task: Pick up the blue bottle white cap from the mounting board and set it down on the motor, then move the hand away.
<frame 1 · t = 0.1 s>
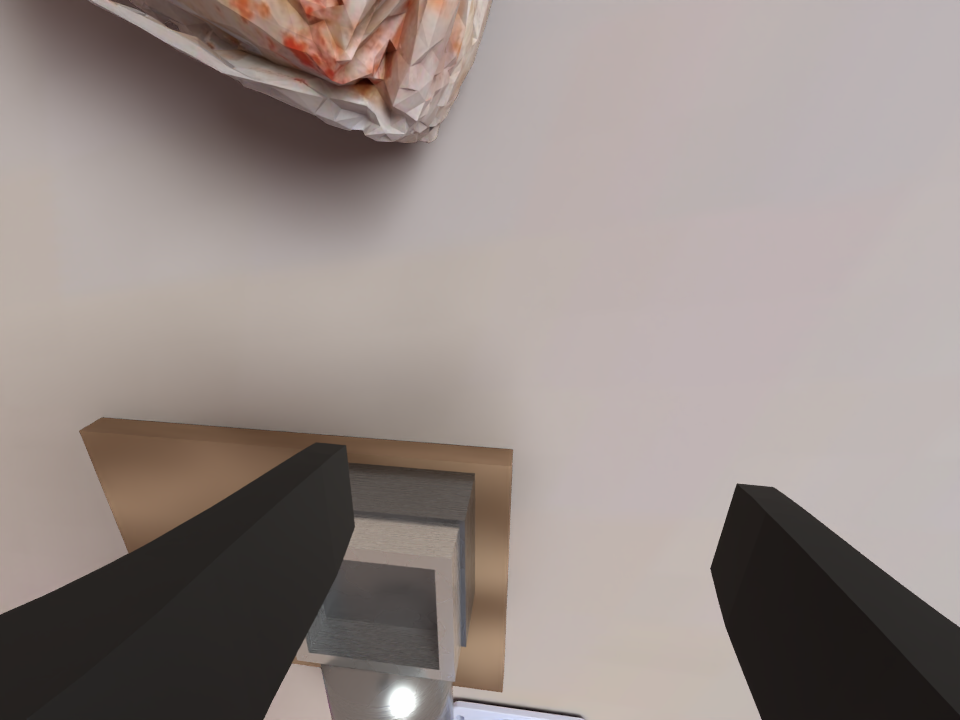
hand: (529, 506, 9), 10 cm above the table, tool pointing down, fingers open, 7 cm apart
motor: (399, 528, 21), resting on mounting board
mounting board: (318, 553, 25), on the table
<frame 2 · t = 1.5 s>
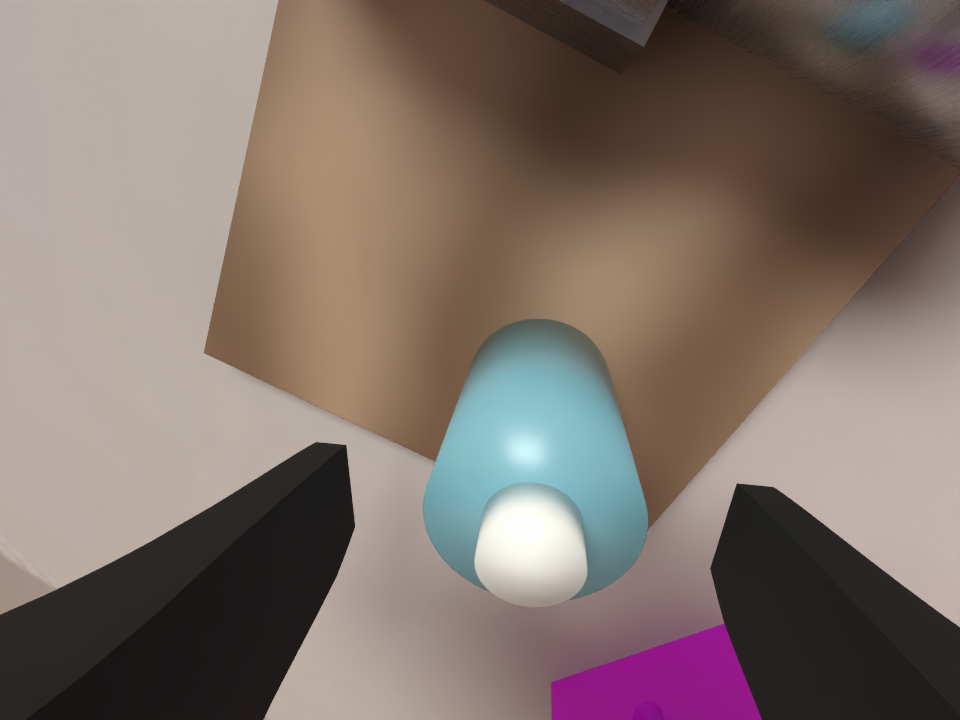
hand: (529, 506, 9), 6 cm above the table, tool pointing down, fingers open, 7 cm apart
mounting board: (580, 144, 12), on the table
blue bottle white cap: (537, 384, 13), point 1 cm above the table, touching mounting board
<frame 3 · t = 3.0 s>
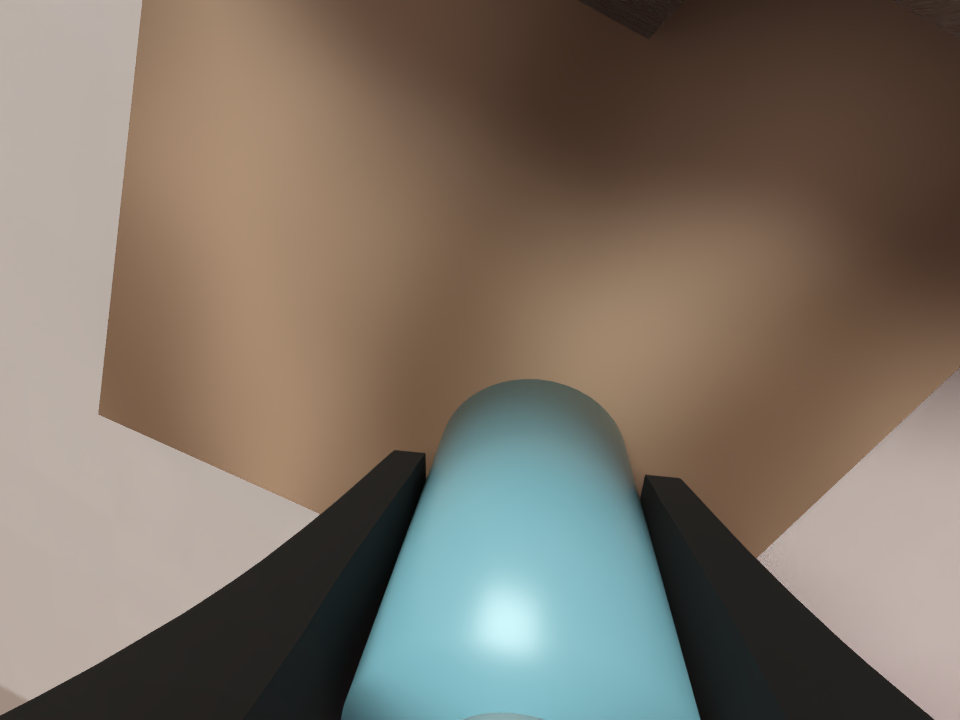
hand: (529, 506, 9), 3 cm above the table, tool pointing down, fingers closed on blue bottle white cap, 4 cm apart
mounting board: (588, 143, 9), on the table
blue bottle white cap: (530, 461, 10), point 1 cm above the table, touching gripper, mounting board
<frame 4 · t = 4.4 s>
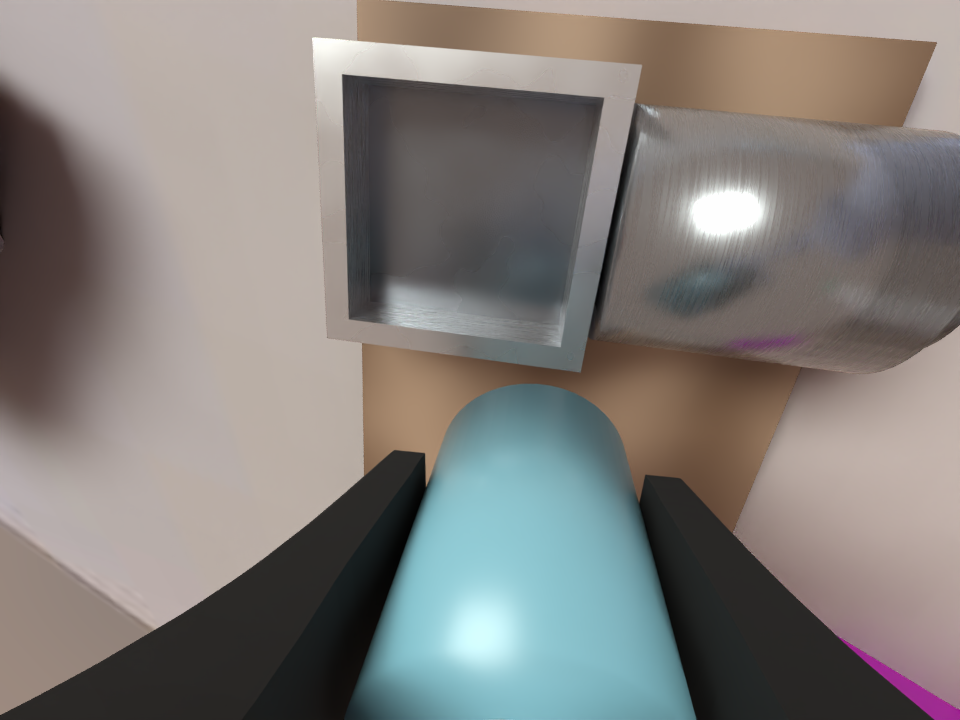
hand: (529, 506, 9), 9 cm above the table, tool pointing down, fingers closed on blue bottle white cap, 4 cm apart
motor: (483, 203, 15), resting on mounting board
mounting board: (567, 350, 17), on the table
blue bottle white cap: (531, 465, 10), point 8 cm above the table, touching gripper
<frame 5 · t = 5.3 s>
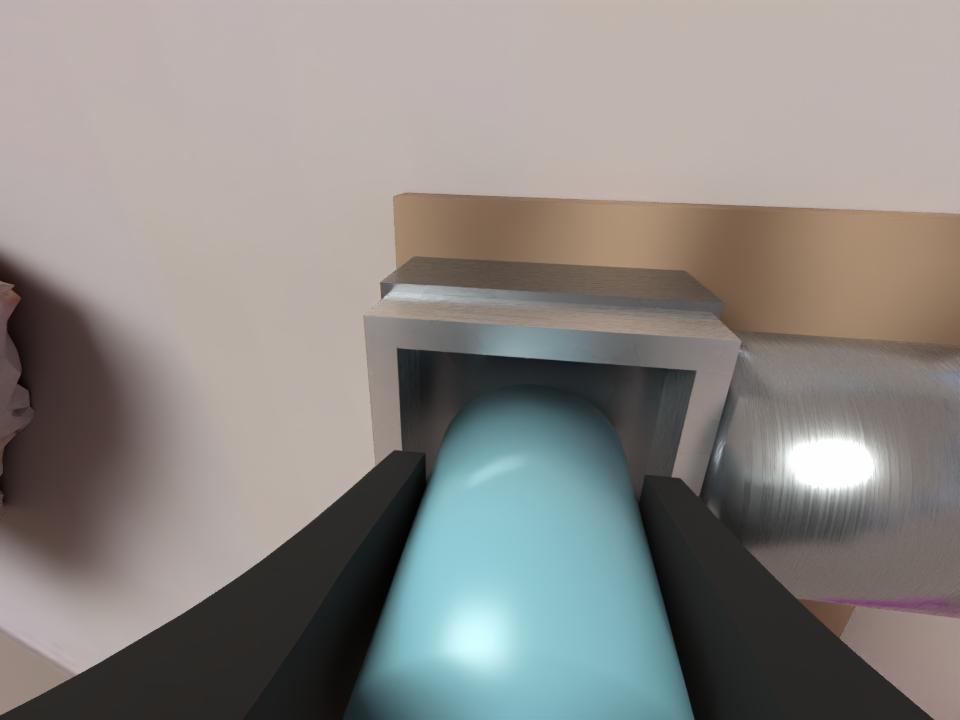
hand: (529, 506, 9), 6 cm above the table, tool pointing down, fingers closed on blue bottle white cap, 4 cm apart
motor: (535, 383, 14), resting on mounting board
mounting board: (625, 503, 16), on the table
blue bottle white cap: (530, 466, 10), point 5 cm above the table, touching gripper
when the fingers open (6 cm above the table, at t = 6.1 s): blue bottle white cap stays where it is, resting on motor.
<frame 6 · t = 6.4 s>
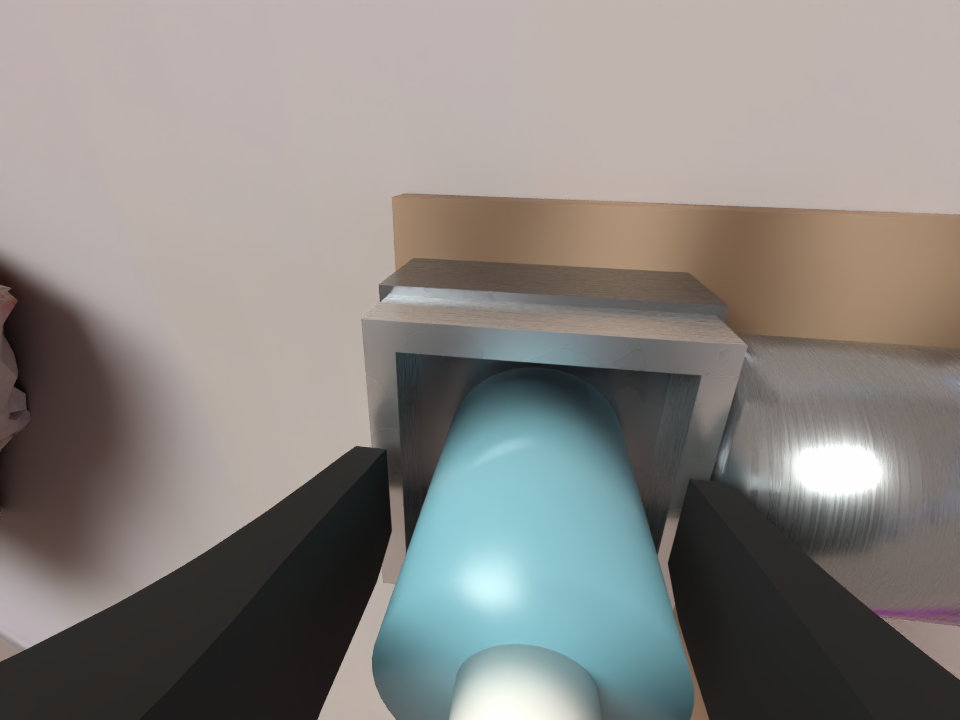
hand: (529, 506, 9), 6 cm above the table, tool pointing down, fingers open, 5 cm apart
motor: (536, 386, 13), resting on mounting board
mounting board: (627, 507, 16), on the table
blue bottle white cap: (534, 445, 11), point 4 cm above the table, touching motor
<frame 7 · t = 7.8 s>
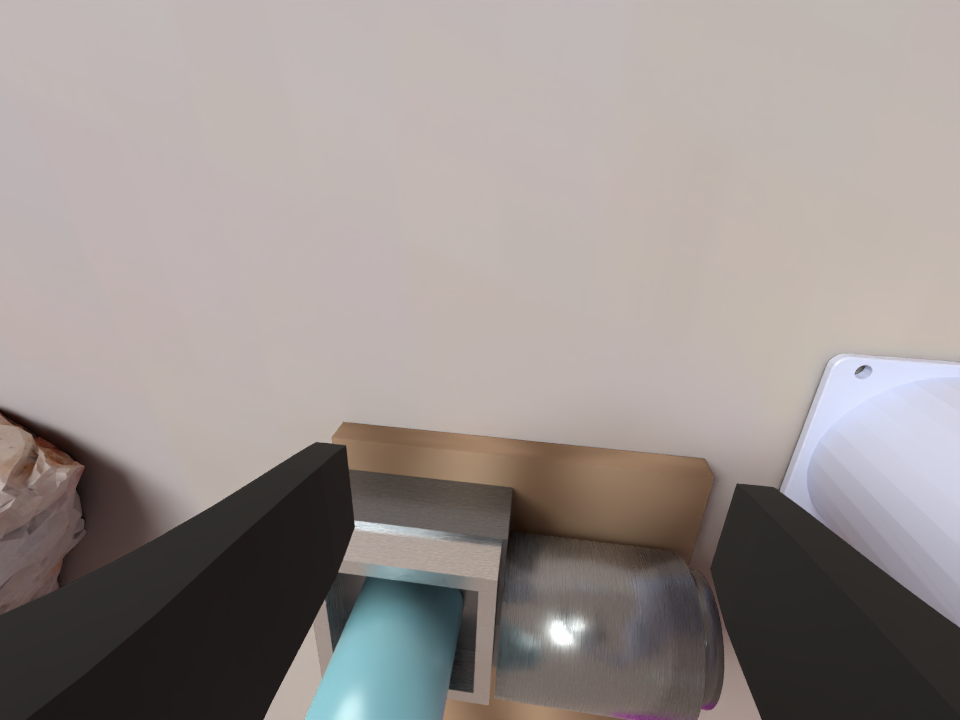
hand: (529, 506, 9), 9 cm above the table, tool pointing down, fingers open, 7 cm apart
food item: (37, 499, 25), on the table
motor: (428, 541, 21), resting on mounting board
mounting board: (503, 607, 23), on the table
blue bottle white cap: (412, 598, 18), point 4 cm above the table, touching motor
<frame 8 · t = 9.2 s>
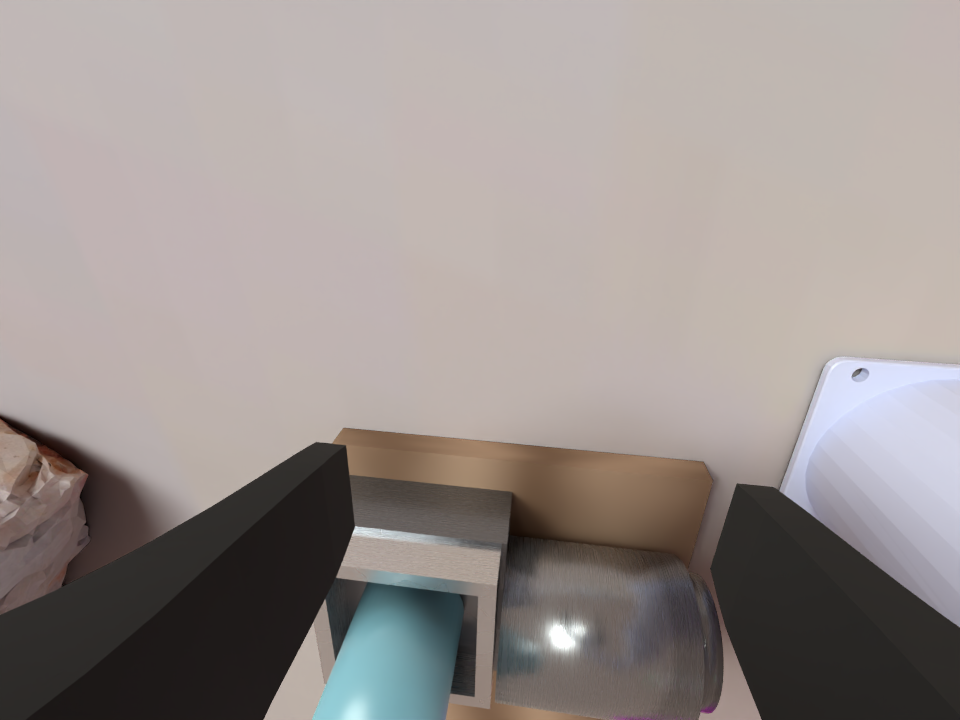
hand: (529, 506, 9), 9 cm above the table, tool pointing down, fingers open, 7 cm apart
food item: (41, 507, 25), on the table
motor: (429, 546, 21), resting on mounting board
mounting board: (504, 610, 23), on the table
blue bottle white cap: (413, 603, 18), point 4 cm above the table, touching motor
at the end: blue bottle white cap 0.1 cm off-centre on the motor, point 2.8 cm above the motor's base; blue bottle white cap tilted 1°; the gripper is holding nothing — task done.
